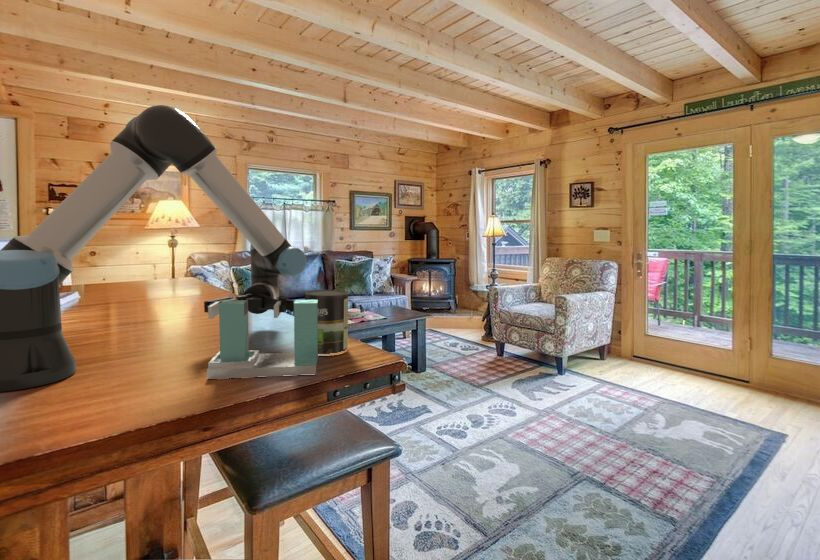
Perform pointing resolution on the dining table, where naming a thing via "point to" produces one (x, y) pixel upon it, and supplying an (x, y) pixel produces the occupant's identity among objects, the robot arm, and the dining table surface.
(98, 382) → the dining table surface
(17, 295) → the robot arm
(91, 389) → the dining table surface
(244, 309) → the mint green block
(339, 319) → the coffee can
